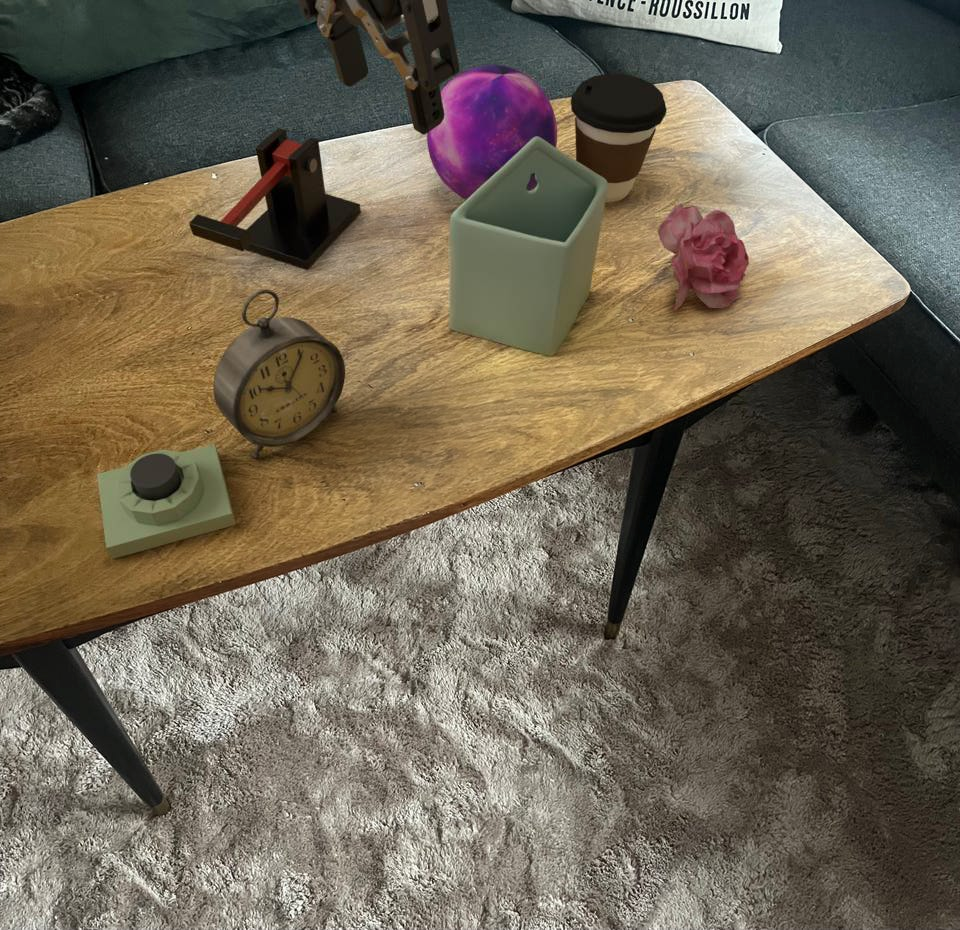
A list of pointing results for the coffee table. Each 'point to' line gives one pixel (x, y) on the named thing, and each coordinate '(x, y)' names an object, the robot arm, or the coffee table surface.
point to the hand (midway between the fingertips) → (391, 102)
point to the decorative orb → (487, 125)
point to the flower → (704, 255)
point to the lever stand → (298, 207)
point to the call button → (155, 476)
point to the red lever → (244, 204)
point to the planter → (526, 250)
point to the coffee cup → (616, 127)
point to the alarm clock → (278, 379)
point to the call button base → (165, 504)
